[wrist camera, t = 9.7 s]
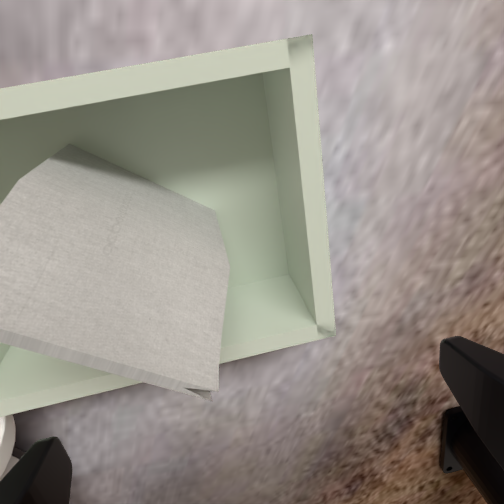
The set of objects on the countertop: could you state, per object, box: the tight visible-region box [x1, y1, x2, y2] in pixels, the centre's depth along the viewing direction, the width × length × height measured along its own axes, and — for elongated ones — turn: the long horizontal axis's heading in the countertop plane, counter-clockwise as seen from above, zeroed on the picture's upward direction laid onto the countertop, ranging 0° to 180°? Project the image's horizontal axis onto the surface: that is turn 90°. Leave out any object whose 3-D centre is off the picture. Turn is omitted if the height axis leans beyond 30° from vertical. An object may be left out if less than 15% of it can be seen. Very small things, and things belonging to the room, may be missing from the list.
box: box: [0, 34, 336, 417], centre depth 16 cm, size 12×16×5 cm
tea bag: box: [0, 144, 230, 401], centre depth 14 cm, size 4×7×10 cm, turn 61°
